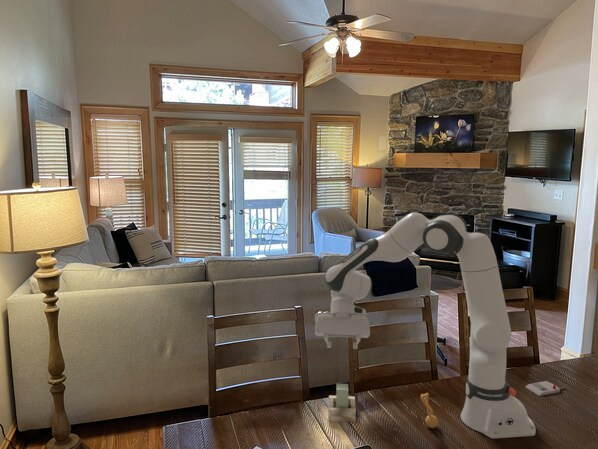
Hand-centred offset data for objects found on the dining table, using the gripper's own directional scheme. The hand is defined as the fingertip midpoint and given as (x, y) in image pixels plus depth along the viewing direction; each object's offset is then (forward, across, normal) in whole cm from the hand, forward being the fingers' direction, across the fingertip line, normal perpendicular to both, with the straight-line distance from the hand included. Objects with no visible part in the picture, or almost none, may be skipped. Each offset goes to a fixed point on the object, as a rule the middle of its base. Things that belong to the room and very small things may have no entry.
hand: (342, 347), depth 158 cm
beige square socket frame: (+21, 0, +6) cm, 22 cm away
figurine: (+25, +28, +2) cm, 38 cm away
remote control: (+6, +77, +22) cm, 80 cm away
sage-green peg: (+21, 0, +6) cm, 22 cm away
